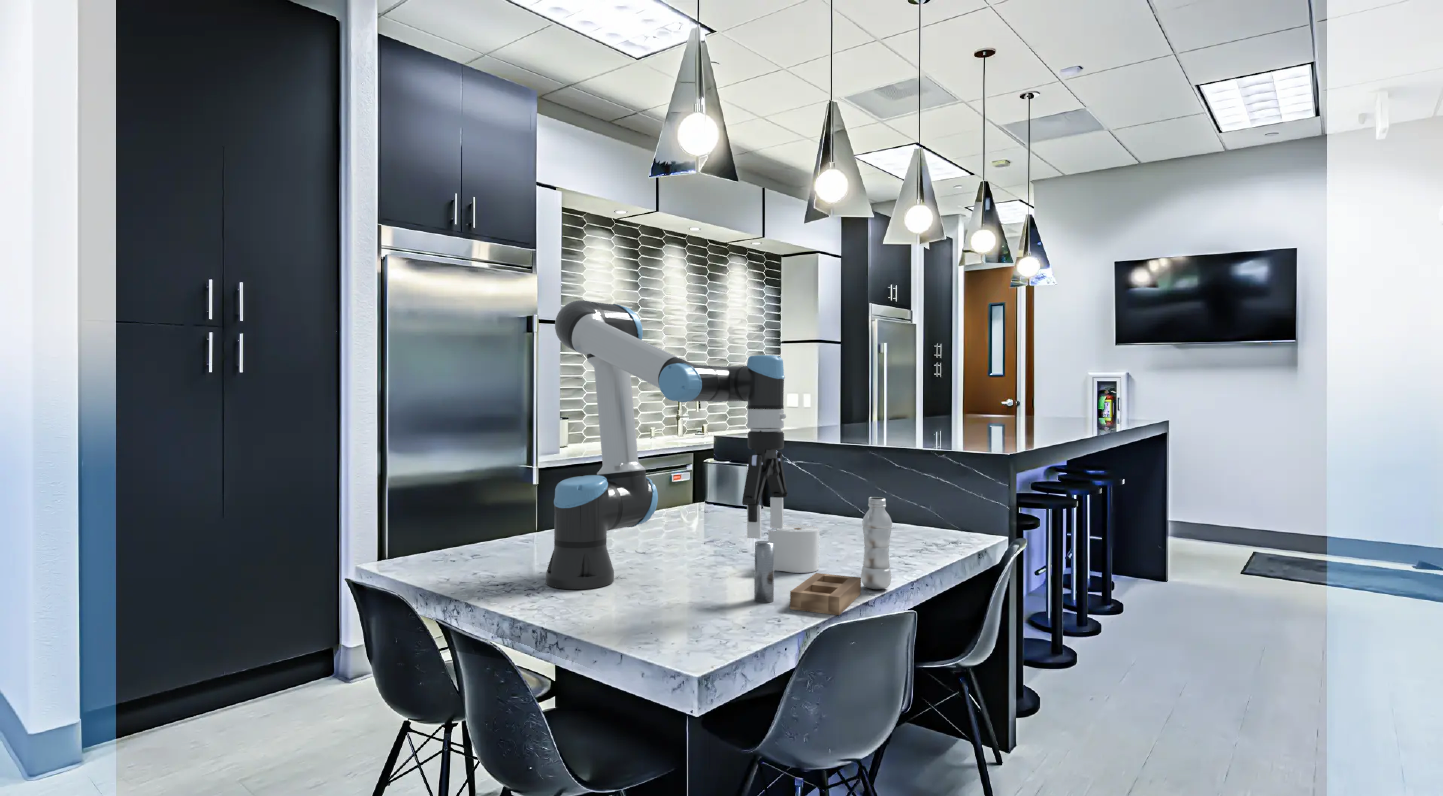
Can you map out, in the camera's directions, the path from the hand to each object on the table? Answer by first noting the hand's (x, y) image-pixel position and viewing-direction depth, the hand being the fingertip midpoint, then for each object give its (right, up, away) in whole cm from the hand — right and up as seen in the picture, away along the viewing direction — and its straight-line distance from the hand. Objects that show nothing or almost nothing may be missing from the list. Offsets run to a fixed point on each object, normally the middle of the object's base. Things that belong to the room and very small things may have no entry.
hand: (765, 533), depth 161 cm
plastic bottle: (+25, -14, +11) cm, 31 cm away
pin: (0, -14, 0) cm, 14 cm away
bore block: (+13, -14, 0) cm, 19 cm away
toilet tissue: (+9, -14, +30) cm, 34 cm away
